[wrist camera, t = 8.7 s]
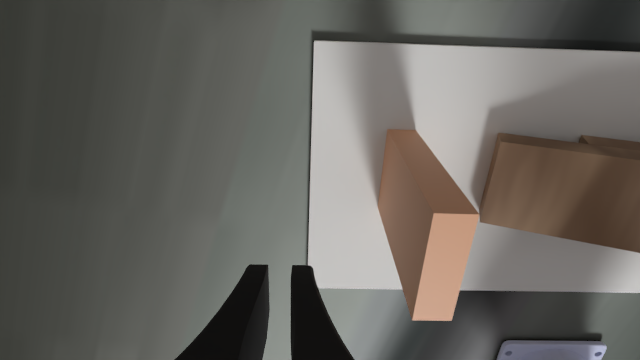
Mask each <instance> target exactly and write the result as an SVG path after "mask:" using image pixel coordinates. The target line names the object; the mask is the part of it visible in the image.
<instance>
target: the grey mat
mask: <svg viewBox="0 0 640 360" xmlns="http://www.w3.org/2000/svg"><path fill="white" fill-rule="evenodd" d="M387 129H399V130H416V131H417V132H418V134H419V135H420V136H421V138H422V139H423V140H424V142H425V143H426V144H427V146H428V147H429V148H430V150H431V151H432V152H433V154H434V155H435V156H436V157H437V159H438V160H439V161H440V163H441V164H442V165H443V167H444V168H445V169H446V171H447V172H448V173H449V175H450V176H451V177H452V179H453V180H454V181H455V183H456V184H457V185H458V187H459V188H460V189H461V191H462V192H463V193H464V195H465V196H466V197H467V199H468V200H469V201H470V203H471V204H472V205H473V206H474V208H475V209H476V210H477V212H478V213H479V207H480V204H481V200H482V196H483V192H484V188H485V184H486V180H487V176H488V172H489V168H490V164H491V160H492V156H493V153H494V149H495V145H496V141H497V137H498V133H506V134H514V135H522V136H530V137H537V138H545V139H553V140H561V141H568V142H576V143H579V140H580V137H581V135H587V136H595V137H603V138H611V139H619V140H627V141H635V142H640V52H632V51H604V50H577V49H549V48H521V47H493V46H465V45H438V44H410V43H382V42H354V41H326V40H314V57H313V94H312V131H311V167H310V204H309V241H308V266H311V267H312V268H313V270H314V276H315V280H316V284H317V287H318V288H344V289H403V288H402V285H401V282H400V279H399V275H398V272H397V269H396V266H395V262H394V259H393V256H392V253H391V249H390V246H389V243H388V239H387V236H386V233H385V230H384V226H383V223H382V220H381V217H380V213H379V210H378V200H379V192H380V183H381V175H382V167H383V159H384V151H385V143H386V135H387ZM460 290H480V291H548V292H617V293H640V253H637V252H632V251H627V250H621V249H616V248H611V247H606V246H601V245H595V244H590V243H585V242H580V241H575V240H569V239H564V238H559V237H554V236H548V235H543V234H538V233H533V232H528V231H522V230H517V229H512V228H507V227H502V226H496V225H491V224H486V223H481V222H480V216H479V219H478V222H477V226H476V230H475V234H474V238H473V241H472V245H471V249H470V253H469V257H468V260H467V264H466V268H465V272H464V276H463V279H462V283H461V287H460Z"/></svg>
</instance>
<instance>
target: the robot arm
mask: <svg viewBox="0 0 640 360" xmlns="http://www.w3.org/2000/svg"><path fill="white" fill-rule="evenodd" d="M268 319H269V280H268V265H249V266H248V267H247V268H246V270H245V272H244V274H243V275H242V277H241V279H240V280H239V282H238V284H237V285H236V287H235V288H234V290H233V291H232V293H231V294H230V296H229V297H228V298H227V300H226V301H225V303H224V304H223V305H222V307H221V308H220V310H219V311H218V312H217V313H216V315H215V316H214V317H213V318H212V320H211V321H210V322H209V323H208V325H207V326H206V327H205V328H204V329H203V331H202V332H201V333H200V334H199V335H198V336H197V337H196V338H195V340H194V341H193V342H192V343H191V344H190V345H189V346H188V347H187V348H186V349H185V350H184V351H183V352H182V353H181V354H180V355H179V356H178V357H177V358H176V359H175V360H262V358H263V353H264V348H265V344H266V339H267V329H268ZM606 349H607V347H606V345H605V344H604V343H603V342H601V341H529V340H508V341H505V342H504V343H503V344H502V346H501V349H500V352H499V354H498V357H497V360H601V359H602V357H603V355H604V353H605V351H606ZM291 356H292V360H354V358H353V357H352V355H351V354H350V352H349V351H348V349H347V348H346V346H345V344H344V343H343V341H342V339H341V338H340V336H339V334H338V332H337V330H336V328H335V326H334V324H333V323H332V321H331V319H330V316H329V314H328V312H327V310H326V307H325V305H324V303H323V301H322V298H321V295H320V293H319V290H318V287H317V284H316V280H315V276H314V270H313V268H312V267H311V266H308V265H292V274H291Z"/></svg>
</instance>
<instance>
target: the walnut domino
mask: <svg viewBox="0 0 640 360" xmlns="http://www.w3.org/2000/svg"><path fill="white" fill-rule="evenodd" d="M479 214H480V215H479V216H480V222H481V223H486V224H491V225H496V226H502V227H507V228H512V229H517V230H522V231H528V232H533V233H538V234H543V235H548V236H554V237H559V238H564V239H569V240H575V241H580V242H585V243H590V244H595V245H601V246H606V247H611V248H616V249H621V250H627V251H632V252H637V253H640V151H638V150H630V149H623V148H615V147H607V146H599V145H592V144H584V143H576V142H568V141H561V140H553V139H545V138H537V137H530V136H522V135H514V134H506V133H498V137H497V141H496V145H495V149H494V153H493V156H492V160H491V164H490V168H489V172H488V176H487V180H486V184H485V188H484V192H483V196H482V200H481V204H480V207H479Z"/></svg>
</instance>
